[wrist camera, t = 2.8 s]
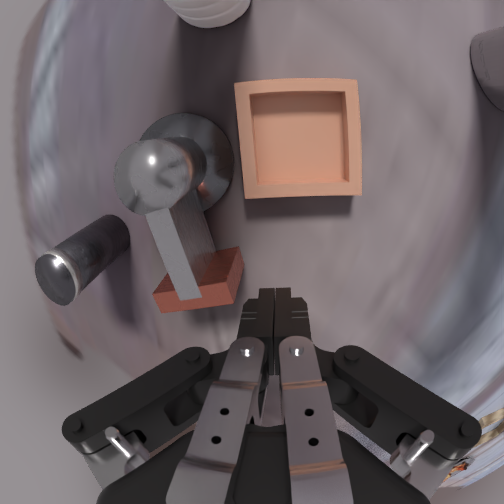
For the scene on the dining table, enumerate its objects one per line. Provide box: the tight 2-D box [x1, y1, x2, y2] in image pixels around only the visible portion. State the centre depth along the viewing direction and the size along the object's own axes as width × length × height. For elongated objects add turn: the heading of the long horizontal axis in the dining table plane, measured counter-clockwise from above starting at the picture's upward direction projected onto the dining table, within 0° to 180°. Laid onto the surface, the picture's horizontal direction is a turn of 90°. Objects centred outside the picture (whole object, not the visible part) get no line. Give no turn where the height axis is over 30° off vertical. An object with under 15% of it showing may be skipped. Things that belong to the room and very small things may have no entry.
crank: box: [114, 136, 244, 313], centre depth 20 cm, size 12×6×6 cm, turn 15°
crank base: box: [140, 113, 234, 211], centre depth 22 cm, size 9×9×1 cm
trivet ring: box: [473, 408, 504, 448], centre depth 39 cm, size 21×18×2 cm
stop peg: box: [35, 215, 130, 306], centre depth 22 cm, size 4×4×10 cm
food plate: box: [442, 458, 474, 483], centre depth 54 cm, size 25×23×4 cm
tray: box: [234, 78, 362, 199], centre depth 20 cm, size 9×9×2 cm
